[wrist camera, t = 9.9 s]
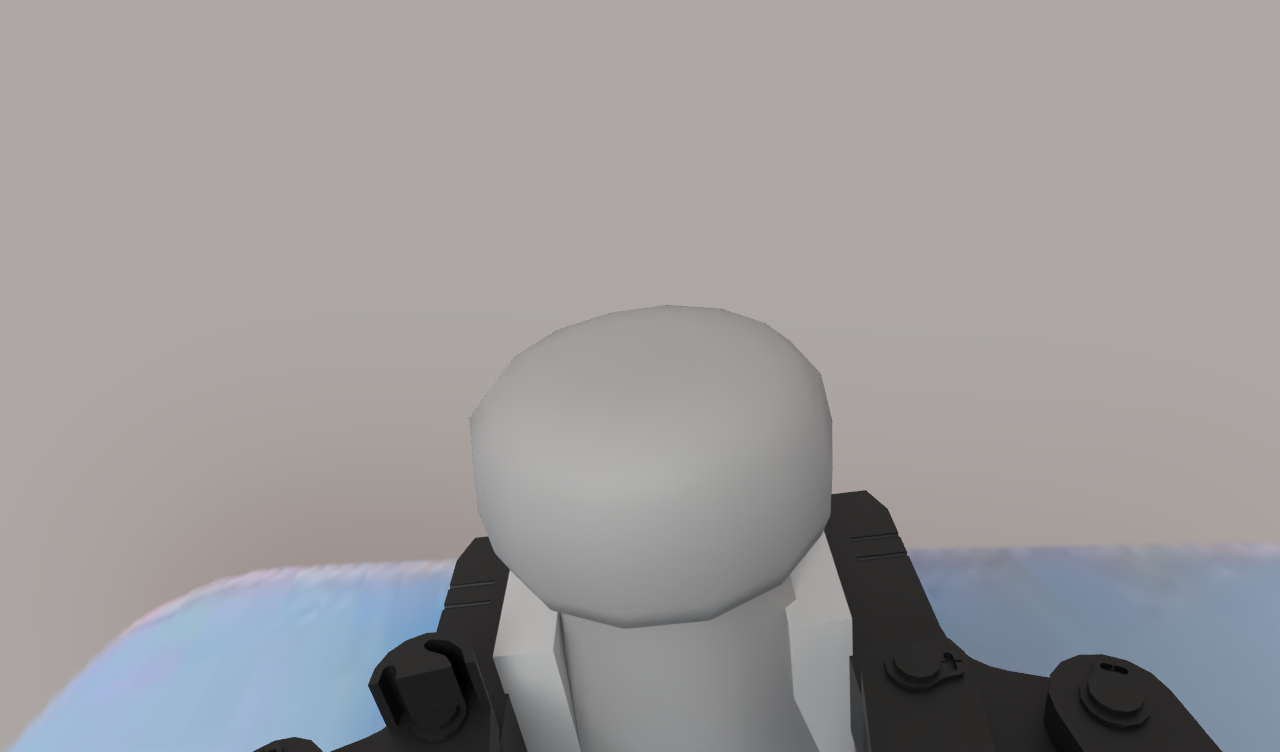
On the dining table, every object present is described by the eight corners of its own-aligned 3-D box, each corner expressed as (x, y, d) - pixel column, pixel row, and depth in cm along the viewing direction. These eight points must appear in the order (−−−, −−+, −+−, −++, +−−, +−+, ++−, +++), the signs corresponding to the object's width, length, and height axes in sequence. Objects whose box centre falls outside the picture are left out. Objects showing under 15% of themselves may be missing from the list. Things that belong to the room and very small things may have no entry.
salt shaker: (900, 1200, 12) (931, 541, 6) (545, 1115, 13) (259, 516, 7) (882, 822, 17) (889, 247, 11) (624, 790, 18) (497, 268, 12)
